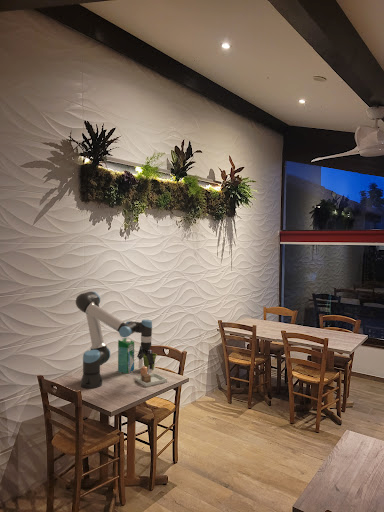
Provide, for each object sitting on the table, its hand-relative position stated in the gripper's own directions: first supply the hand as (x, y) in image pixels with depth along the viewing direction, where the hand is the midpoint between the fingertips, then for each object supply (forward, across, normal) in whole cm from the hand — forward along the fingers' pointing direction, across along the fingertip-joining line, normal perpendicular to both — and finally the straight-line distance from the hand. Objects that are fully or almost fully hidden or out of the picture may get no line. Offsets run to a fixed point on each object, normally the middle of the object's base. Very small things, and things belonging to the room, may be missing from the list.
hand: (145, 370), depth 293 cm
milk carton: (+10, +31, -1) cm, 32 cm away
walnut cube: (+8, -1, -1) cm, 8 cm away
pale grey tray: (+9, -1, -5) cm, 10 cm away
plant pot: (+9, +26, -19) cm, 33 cm away
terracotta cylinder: (+9, +12, -6) cm, 16 cm away
